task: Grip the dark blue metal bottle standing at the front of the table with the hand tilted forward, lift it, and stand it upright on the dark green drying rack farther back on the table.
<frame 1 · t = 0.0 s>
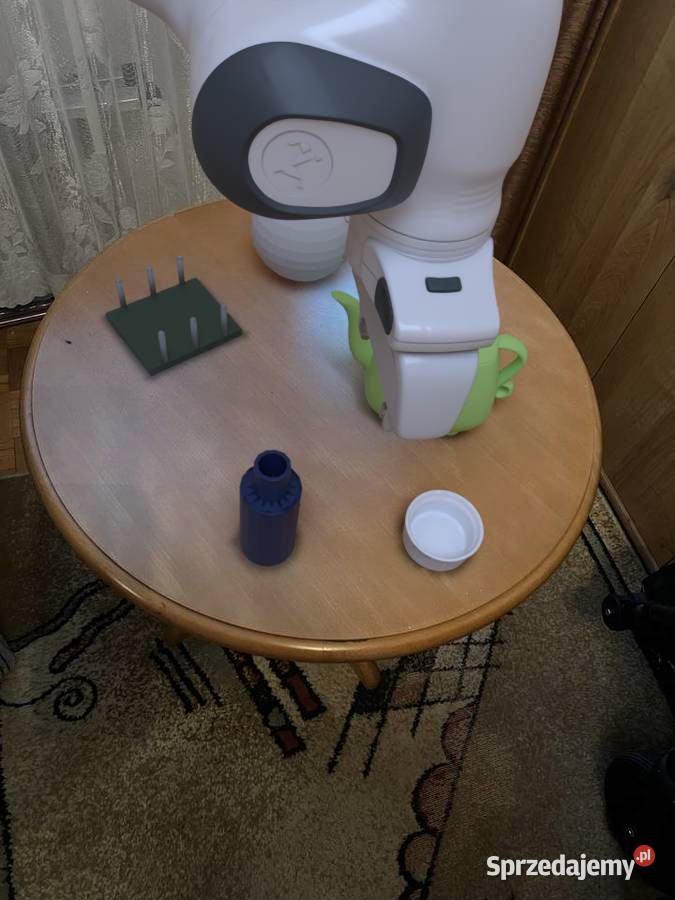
hand: (379, 376, 53), 27 cm above the table, tool pointing down, fingers open, 8 cm apart
decorative object: (299, 269, 99), on the table
ramekin: (435, 541, 76), on the table
rack: (175, 327, 90), on the table
bottle: (267, 541, 73), on the table
teapot: (411, 380, 89), on the table
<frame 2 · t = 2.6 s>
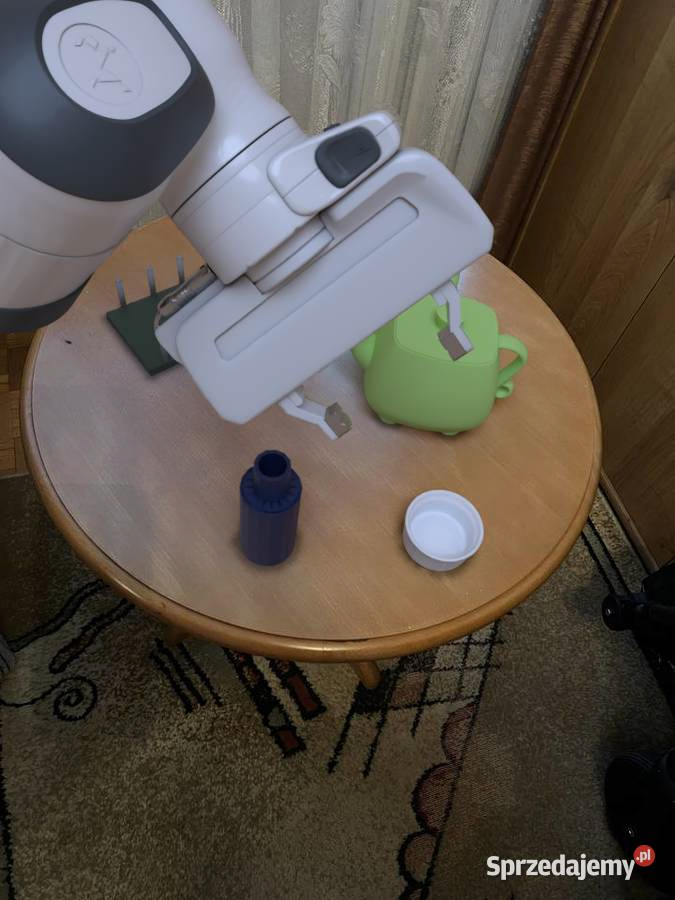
hand: (401, 393, 42), 35 cm above the table, tool tilted 55°, fingers open, 8 cm apart
nothing on the table moved.
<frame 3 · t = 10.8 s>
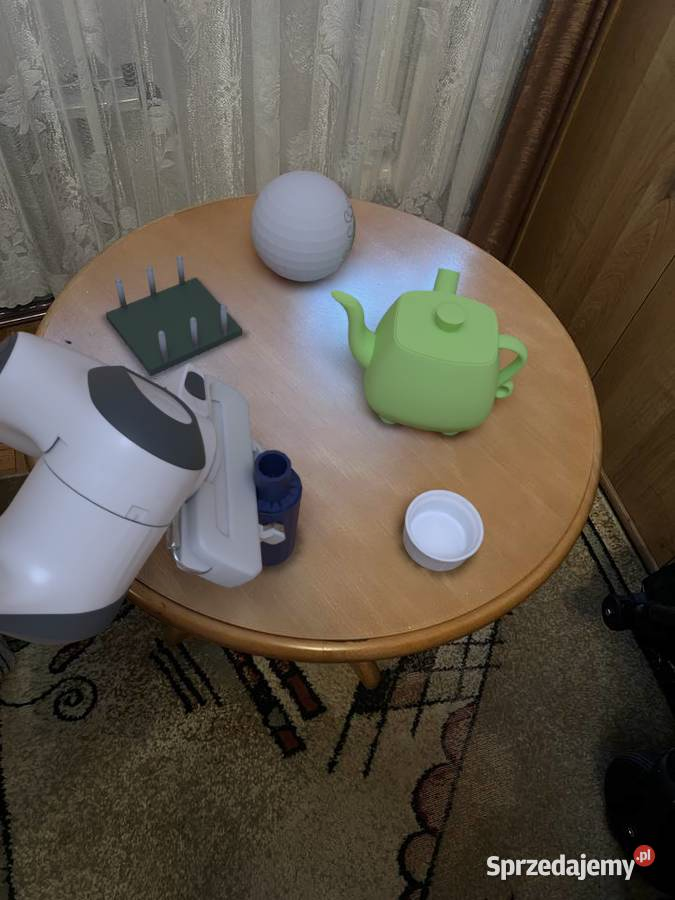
hand: (276, 501, 66), 9 cm above the table, tool tilted 45°, fingers closed on bottle, 6 cm apart
bottle: (267, 541, 73), on the table, touching gripper
everything else where it was.
when the fingers open (10 cm above the table, at t = 23.0 s): bottle stays where it is, resting on rack.
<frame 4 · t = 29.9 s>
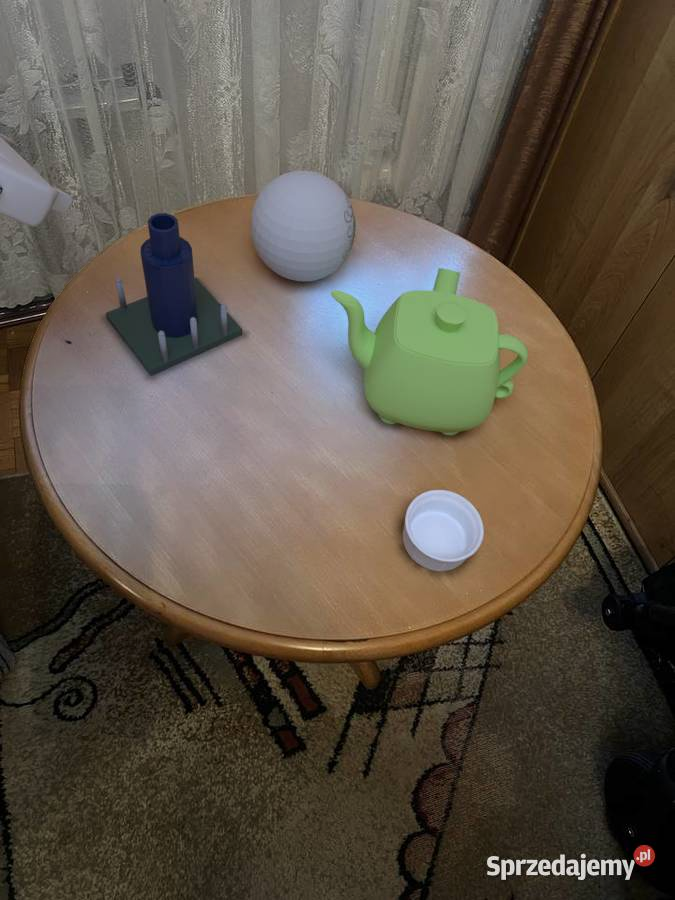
hand: (39, 177, 61), 27 cm above the table, tool tilted 45°, fingers open, 8 cm apart
bottle: (175, 321, 89), point 1 cm above the table, touching rack
everything else where it was.
at the end: bottle inside the target area on the rack (0.2 cm from its centre), point 1.2 cm above the rack's base; bottle tilted 0°; the gripper is holding nothing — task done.
